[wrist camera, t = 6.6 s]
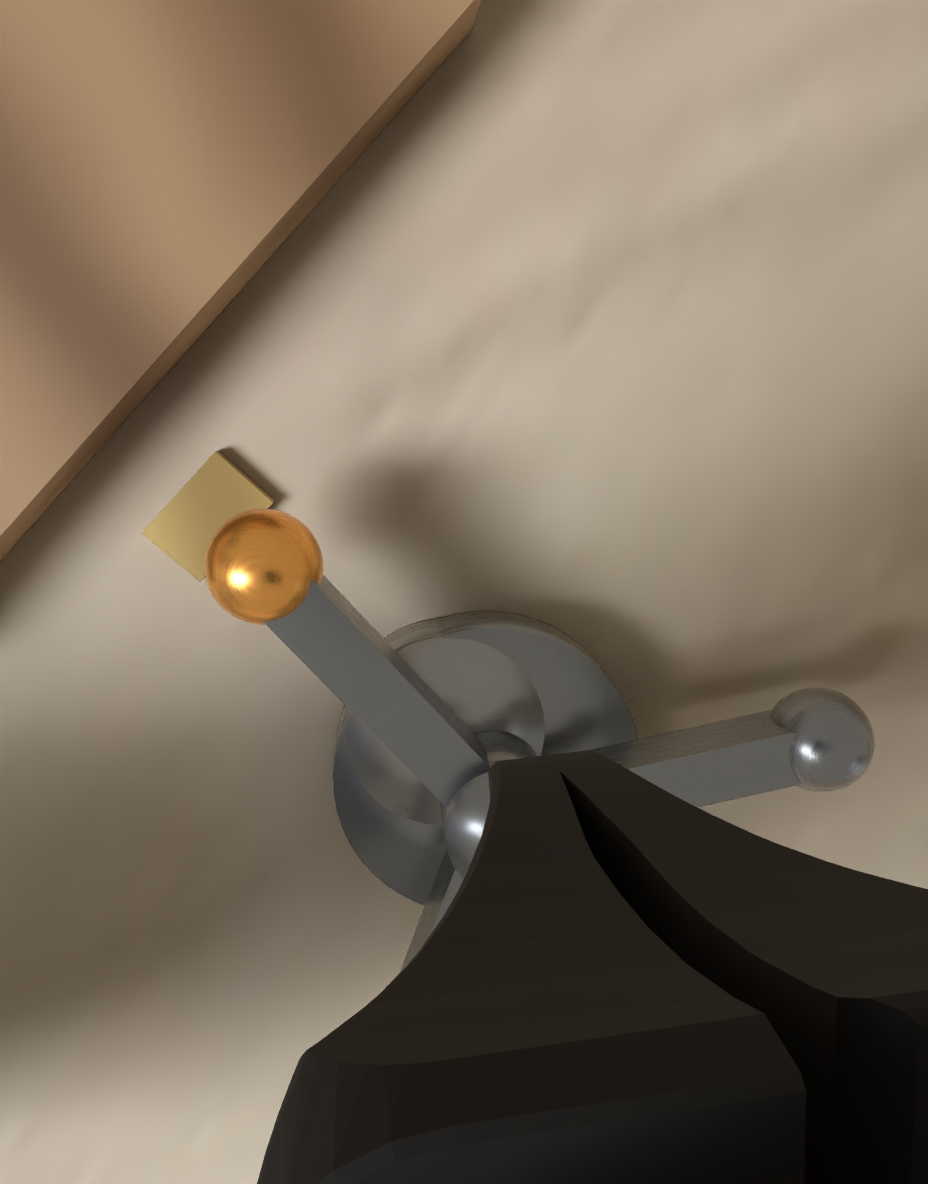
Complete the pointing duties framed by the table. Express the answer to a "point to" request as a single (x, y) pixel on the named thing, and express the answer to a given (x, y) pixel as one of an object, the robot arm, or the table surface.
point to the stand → (167, 203)
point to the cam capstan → (489, 714)
